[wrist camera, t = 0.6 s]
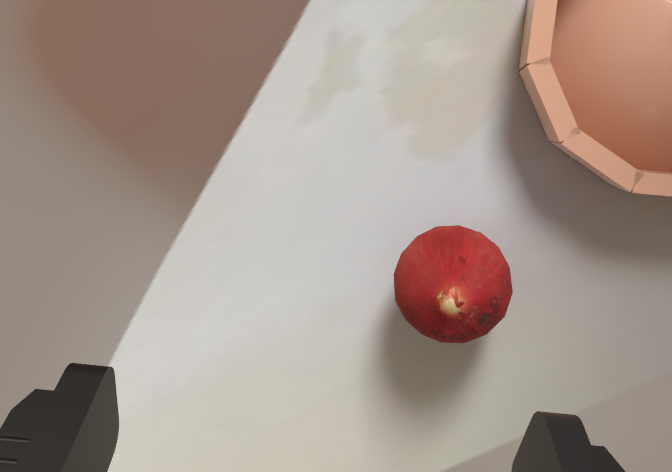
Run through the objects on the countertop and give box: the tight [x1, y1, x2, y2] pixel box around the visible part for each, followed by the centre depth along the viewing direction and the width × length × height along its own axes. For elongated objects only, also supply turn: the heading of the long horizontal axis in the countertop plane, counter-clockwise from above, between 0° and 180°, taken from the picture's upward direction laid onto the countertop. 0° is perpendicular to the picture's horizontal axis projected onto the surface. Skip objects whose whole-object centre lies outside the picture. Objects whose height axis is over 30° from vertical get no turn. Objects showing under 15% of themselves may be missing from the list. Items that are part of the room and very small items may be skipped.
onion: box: [394, 226, 513, 343], centre depth 32 cm, size 6×6×8 cm
